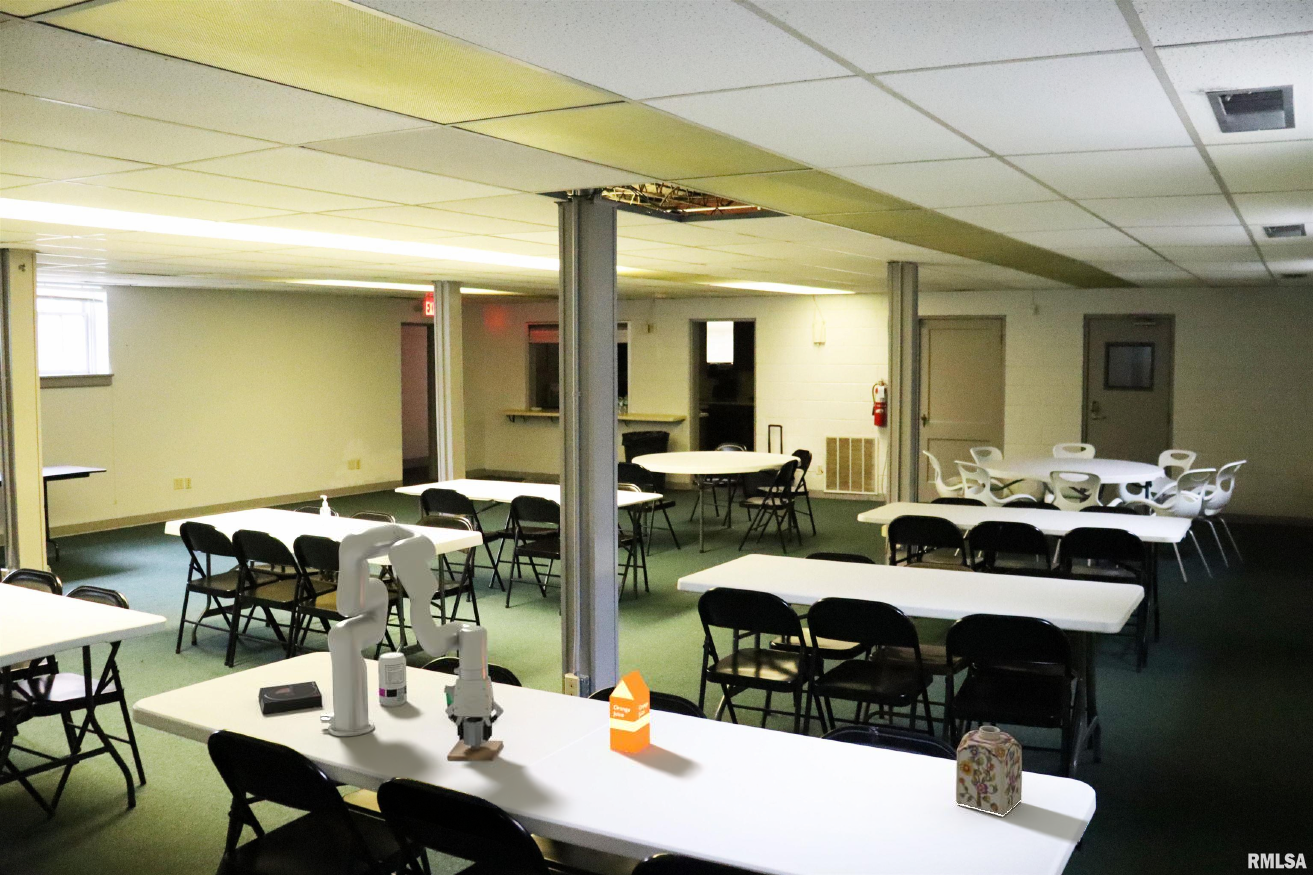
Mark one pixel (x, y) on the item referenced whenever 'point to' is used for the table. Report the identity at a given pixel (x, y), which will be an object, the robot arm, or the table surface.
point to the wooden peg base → (475, 751)
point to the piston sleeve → (473, 731)
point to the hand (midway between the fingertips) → (474, 738)
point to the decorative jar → (989, 770)
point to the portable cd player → (290, 697)
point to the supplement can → (392, 679)
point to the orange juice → (630, 714)
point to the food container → (449, 695)
